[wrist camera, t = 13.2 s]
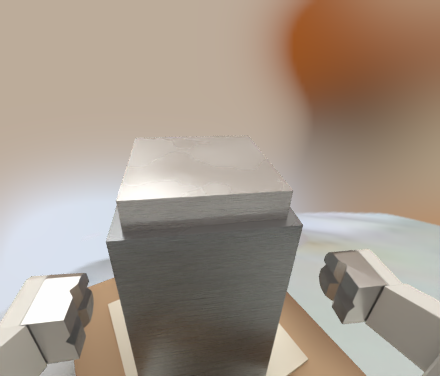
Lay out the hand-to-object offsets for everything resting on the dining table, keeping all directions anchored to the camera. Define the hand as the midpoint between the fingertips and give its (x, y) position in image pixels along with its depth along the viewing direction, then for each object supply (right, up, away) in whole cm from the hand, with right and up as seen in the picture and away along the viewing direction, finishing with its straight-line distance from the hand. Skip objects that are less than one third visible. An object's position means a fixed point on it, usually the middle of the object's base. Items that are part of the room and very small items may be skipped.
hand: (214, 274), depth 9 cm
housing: (-1, -5, +5) cm, 7 cm away
